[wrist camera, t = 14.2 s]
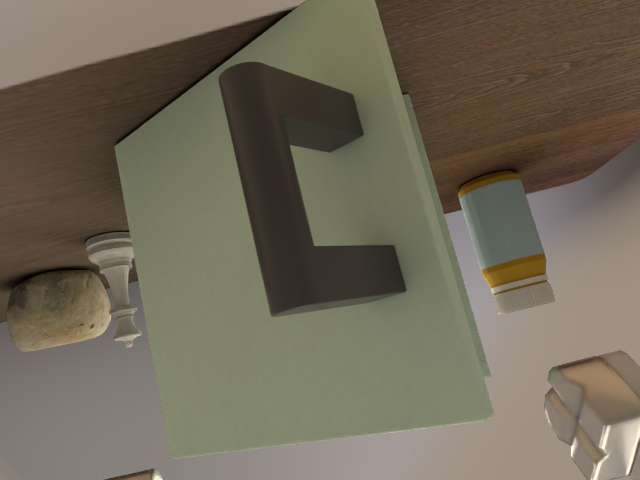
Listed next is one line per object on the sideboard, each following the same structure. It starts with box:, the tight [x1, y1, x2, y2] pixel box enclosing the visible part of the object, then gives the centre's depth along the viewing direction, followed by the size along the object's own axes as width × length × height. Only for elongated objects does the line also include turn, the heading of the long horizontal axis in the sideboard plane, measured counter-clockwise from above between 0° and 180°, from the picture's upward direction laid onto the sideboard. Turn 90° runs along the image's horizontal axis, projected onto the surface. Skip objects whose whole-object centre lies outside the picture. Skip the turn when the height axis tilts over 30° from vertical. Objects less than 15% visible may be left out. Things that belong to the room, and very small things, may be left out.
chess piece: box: [85, 232, 142, 348], centre depth 51 cm, size 4×4×10 cm
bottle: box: [458, 171, 555, 315], centre depth 64 cm, size 7×7×15 cm
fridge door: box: [115, 0, 494, 459], centre depth 24 cm, size 7×18×18 cm, turn 130°
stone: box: [7, 270, 111, 351], centre depth 61 cm, size 10×10×10 cm
